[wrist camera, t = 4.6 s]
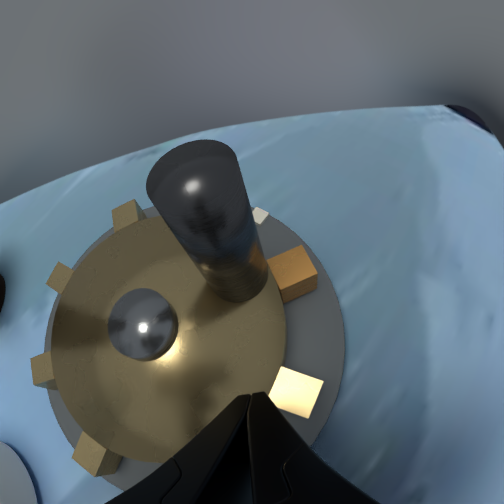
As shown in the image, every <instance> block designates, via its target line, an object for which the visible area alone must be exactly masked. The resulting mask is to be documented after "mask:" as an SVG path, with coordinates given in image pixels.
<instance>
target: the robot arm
mask: <svg viewBox="0 0 504 504" xmlns="http://www.w3.org/2000/svg"><path fill="white" fill-rule="evenodd" d="M105 504H380V503H379V502H377V501H376V500H375V499H373V498H372V497H370V496H369V495H367V494H366V493H364V492H363V491H362V490H360V489H359V488H357V487H356V486H355V485H353V484H352V483H351V482H349V481H348V480H347V479H345V478H344V477H343V476H341V475H340V474H339V473H337V472H336V471H335V470H333V469H332V468H331V467H330V466H329V465H327V464H326V463H325V462H324V461H323V460H322V459H321V458H320V457H319V456H318V455H317V454H316V453H315V452H314V451H313V450H312V449H311V447H310V446H309V445H308V444H307V443H306V442H305V441H304V440H303V438H302V437H301V436H300V435H299V434H298V432H297V431H296V430H295V429H294V427H293V426H292V425H291V424H290V422H289V421H288V420H287V419H286V418H285V416H284V415H283V414H282V413H281V411H280V410H279V409H278V407H277V406H276V405H275V404H274V402H273V401H272V400H271V399H270V397H269V396H268V395H267V393H266V392H265V391H261V392H255V393H252V394H243V395H238V396H237V397H236V398H235V399H234V400H232V401H231V402H230V403H229V404H228V405H227V406H226V407H225V408H224V409H223V410H222V411H221V412H220V413H219V414H218V415H217V416H216V417H215V418H214V419H213V420H212V421H211V422H210V423H209V424H208V425H207V426H205V427H204V428H203V429H202V430H201V431H200V432H199V433H198V434H197V435H196V436H195V437H194V438H192V439H191V440H190V441H189V442H188V443H187V444H186V445H185V446H184V447H182V448H181V449H180V450H179V451H178V452H177V453H176V454H175V455H173V458H172V457H171V458H169V459H168V460H167V461H166V462H165V463H163V464H162V465H161V466H160V467H159V468H157V469H156V470H155V471H154V472H152V473H151V474H150V475H148V476H147V477H145V478H144V479H143V480H141V481H140V482H138V483H137V484H135V485H134V486H132V487H131V488H129V489H128V490H126V491H124V492H123V493H121V494H120V495H118V496H116V497H115V498H113V499H112V500H110V501H108V502H107V503H105Z"/></svg>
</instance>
